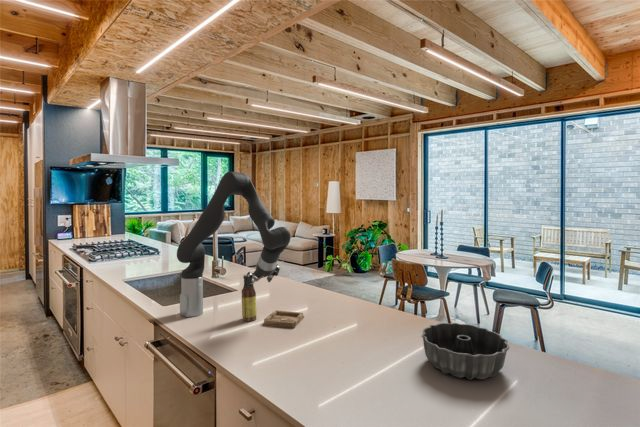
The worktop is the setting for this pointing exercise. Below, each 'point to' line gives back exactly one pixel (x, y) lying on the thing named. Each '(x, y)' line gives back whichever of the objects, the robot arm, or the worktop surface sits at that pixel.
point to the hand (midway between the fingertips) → (259, 283)
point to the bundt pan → (465, 350)
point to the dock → (283, 319)
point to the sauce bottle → (248, 302)
